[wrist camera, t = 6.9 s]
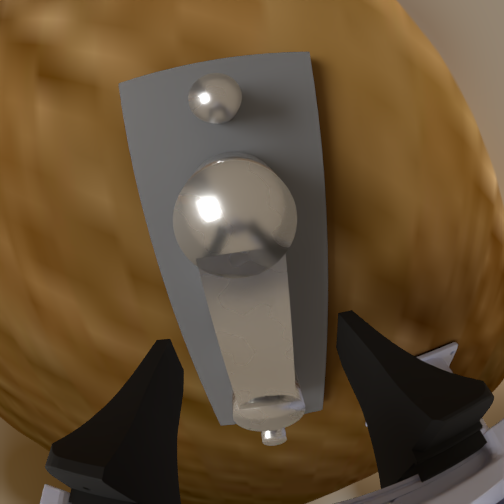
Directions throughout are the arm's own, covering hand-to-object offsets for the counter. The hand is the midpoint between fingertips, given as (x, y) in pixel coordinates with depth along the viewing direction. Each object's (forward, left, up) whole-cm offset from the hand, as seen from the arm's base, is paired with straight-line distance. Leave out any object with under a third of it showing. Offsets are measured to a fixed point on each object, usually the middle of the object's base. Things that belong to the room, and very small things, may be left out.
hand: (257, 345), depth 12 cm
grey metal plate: (0, 0, -4) cm, 4 cm away
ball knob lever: (0, 0, -3) cm, 3 cm away
